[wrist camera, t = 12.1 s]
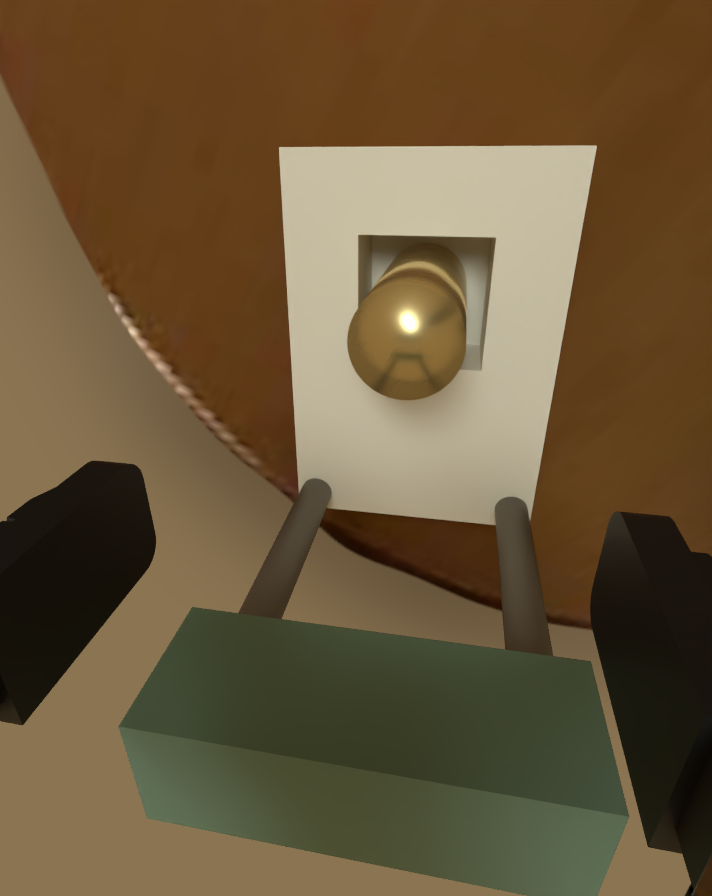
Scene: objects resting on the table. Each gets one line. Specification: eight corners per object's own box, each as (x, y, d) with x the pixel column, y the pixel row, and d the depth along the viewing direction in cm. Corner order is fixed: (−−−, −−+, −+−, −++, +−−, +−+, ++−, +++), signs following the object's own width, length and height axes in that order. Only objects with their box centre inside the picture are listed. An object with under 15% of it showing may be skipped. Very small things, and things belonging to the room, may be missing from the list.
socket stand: (573, 148, 24) (914, 107, 6) (520, 478, 32) (592, 908, 14) (310, 149, 26) (-70, 121, 8) (321, 461, 34) (146, 818, 16)
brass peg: (470, 243, 26) (472, 286, 17) (462, 327, 28) (460, 404, 19) (386, 241, 26) (346, 281, 18) (384, 323, 28) (347, 396, 20)
